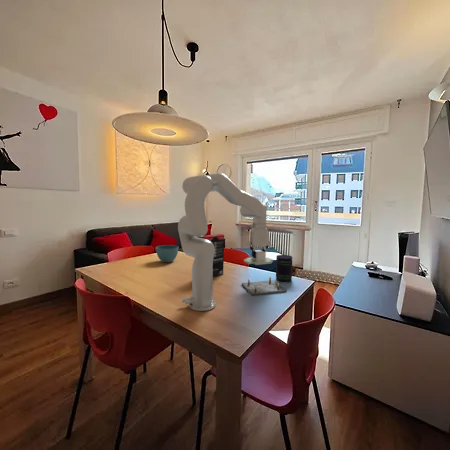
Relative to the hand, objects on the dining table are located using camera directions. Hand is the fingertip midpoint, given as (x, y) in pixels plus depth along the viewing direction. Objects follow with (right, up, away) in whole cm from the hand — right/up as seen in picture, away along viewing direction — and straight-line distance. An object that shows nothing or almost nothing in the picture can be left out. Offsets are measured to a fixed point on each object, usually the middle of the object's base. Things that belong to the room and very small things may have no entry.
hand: (258, 257), depth 132 cm
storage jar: (+18, -16, +12) cm, 27 cm away
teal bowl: (-67, -12, +55) cm, 87 cm away
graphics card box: (-28, -15, +20) cm, 38 cm away
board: (0, -3, 0) cm, 3 cm away
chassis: (+2, -17, -3) cm, 18 cm away
